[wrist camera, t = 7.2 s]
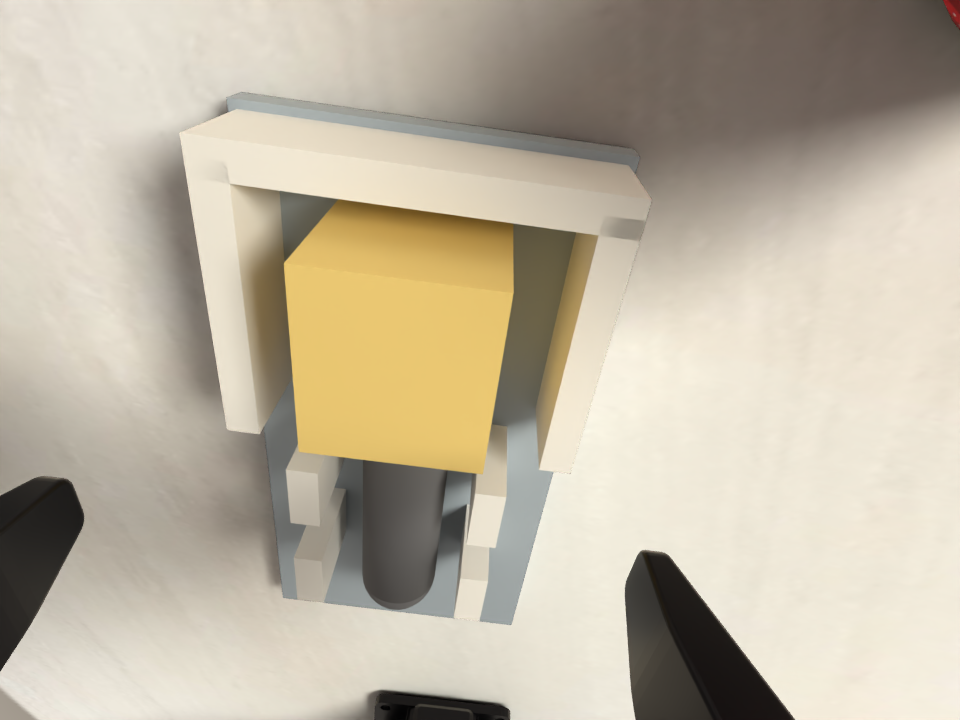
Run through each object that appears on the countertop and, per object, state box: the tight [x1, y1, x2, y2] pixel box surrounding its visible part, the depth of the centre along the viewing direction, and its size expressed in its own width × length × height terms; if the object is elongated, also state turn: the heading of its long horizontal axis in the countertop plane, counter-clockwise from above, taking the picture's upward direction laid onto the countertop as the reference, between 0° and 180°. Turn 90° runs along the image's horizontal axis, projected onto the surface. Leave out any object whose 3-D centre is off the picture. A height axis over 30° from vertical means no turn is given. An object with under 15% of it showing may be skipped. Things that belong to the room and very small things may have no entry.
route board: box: [179, 92, 652, 625], centre depth 16 cm, size 18×9×4 cm, turn 173°
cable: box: [284, 199, 514, 610], centre depth 15 cm, size 13×4×4 cm, turn 173°
